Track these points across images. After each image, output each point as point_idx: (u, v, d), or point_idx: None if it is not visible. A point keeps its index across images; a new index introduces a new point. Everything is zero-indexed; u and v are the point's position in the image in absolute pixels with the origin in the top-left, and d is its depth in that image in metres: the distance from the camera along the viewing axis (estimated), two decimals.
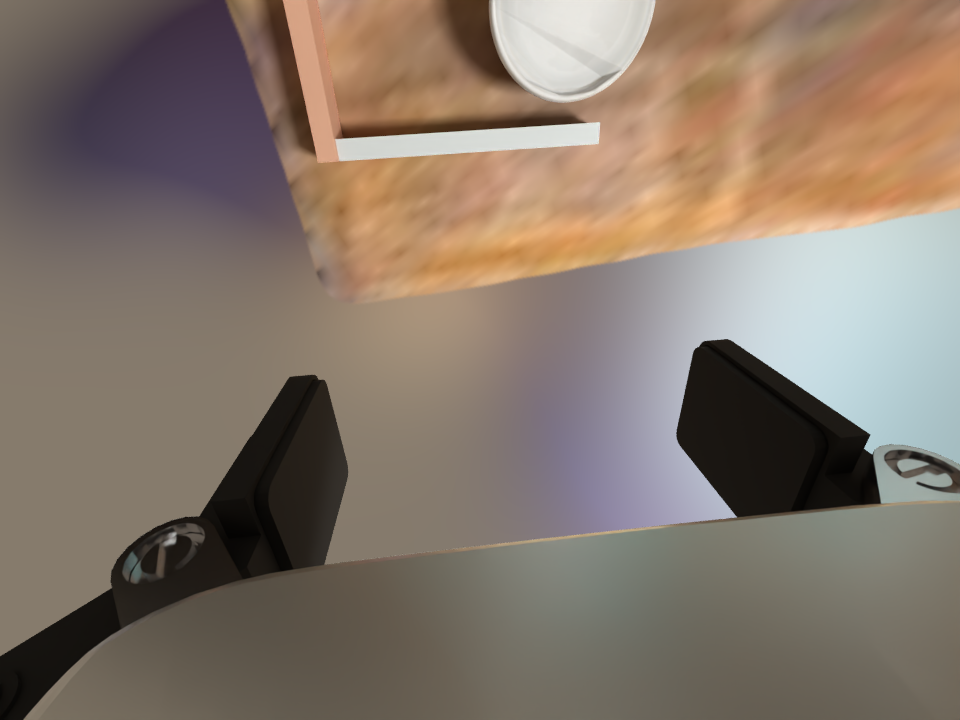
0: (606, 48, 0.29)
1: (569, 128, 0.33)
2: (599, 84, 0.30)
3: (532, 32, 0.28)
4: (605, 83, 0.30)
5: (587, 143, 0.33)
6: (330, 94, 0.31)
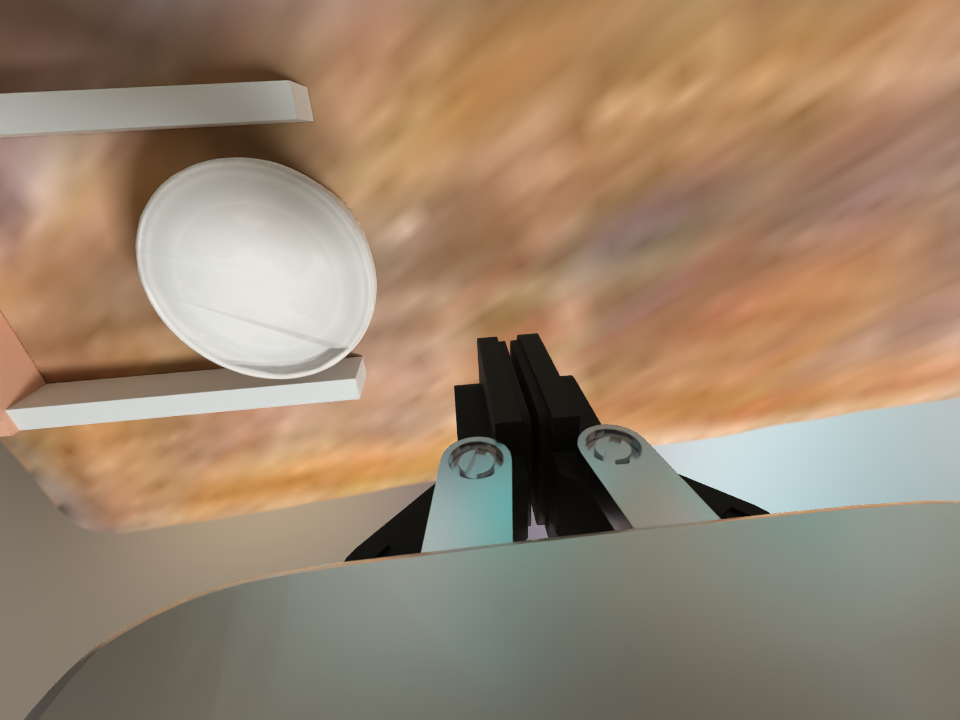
0: (321, 328, 0.22)
1: (316, 386, 0.26)
2: (326, 360, 0.23)
3: (214, 313, 0.21)
4: (331, 361, 0.23)
5: (345, 398, 0.27)
6: None
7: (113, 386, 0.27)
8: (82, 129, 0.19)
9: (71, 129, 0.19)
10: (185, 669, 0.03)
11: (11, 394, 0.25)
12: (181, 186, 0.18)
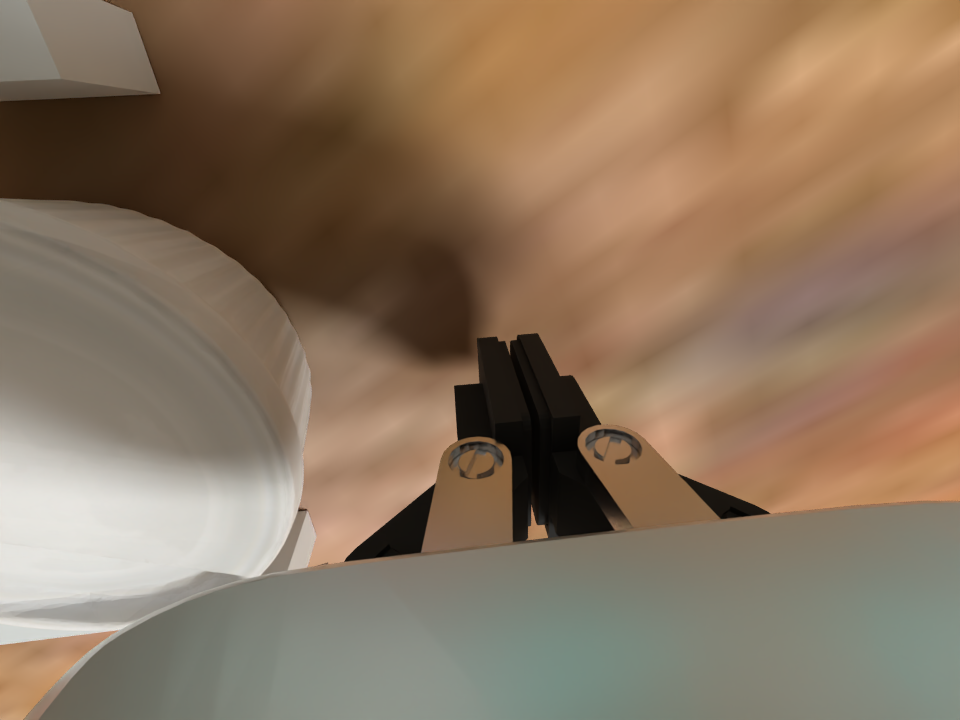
0: (179, 552, 0.10)
1: None
2: None
3: None
4: None
5: None
6: None
7: None
8: None
9: None
10: (185, 669, 0.03)
11: None
12: None
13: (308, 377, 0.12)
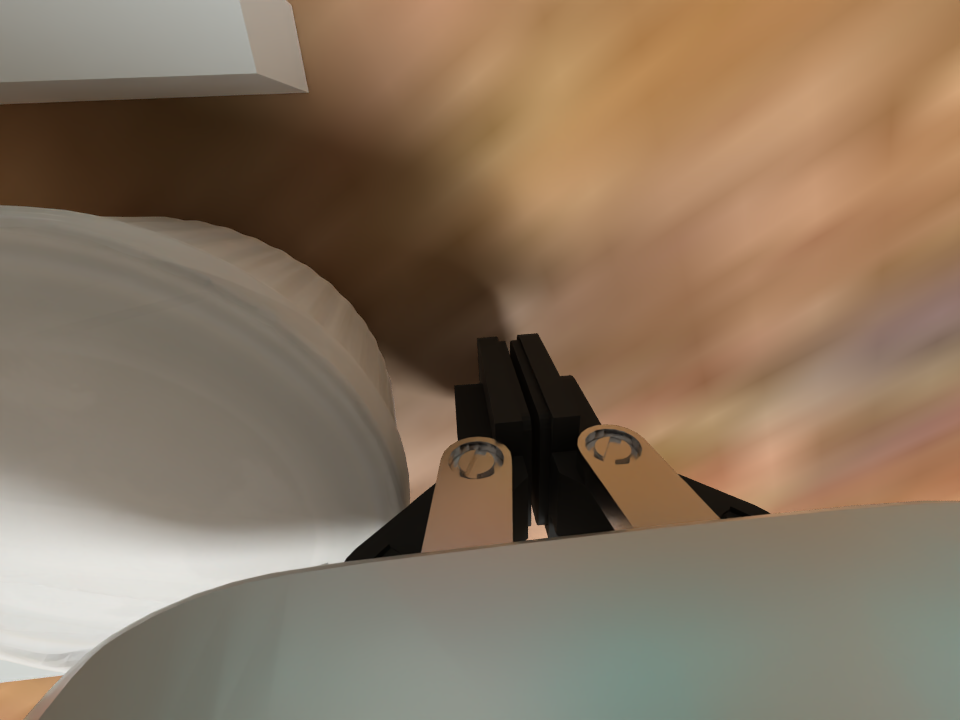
0: None
1: None
2: None
3: (2, 581, 0.08)
4: None
5: None
6: None
7: None
8: None
9: None
10: (185, 669, 0.03)
11: None
12: None
13: (394, 405, 0.12)
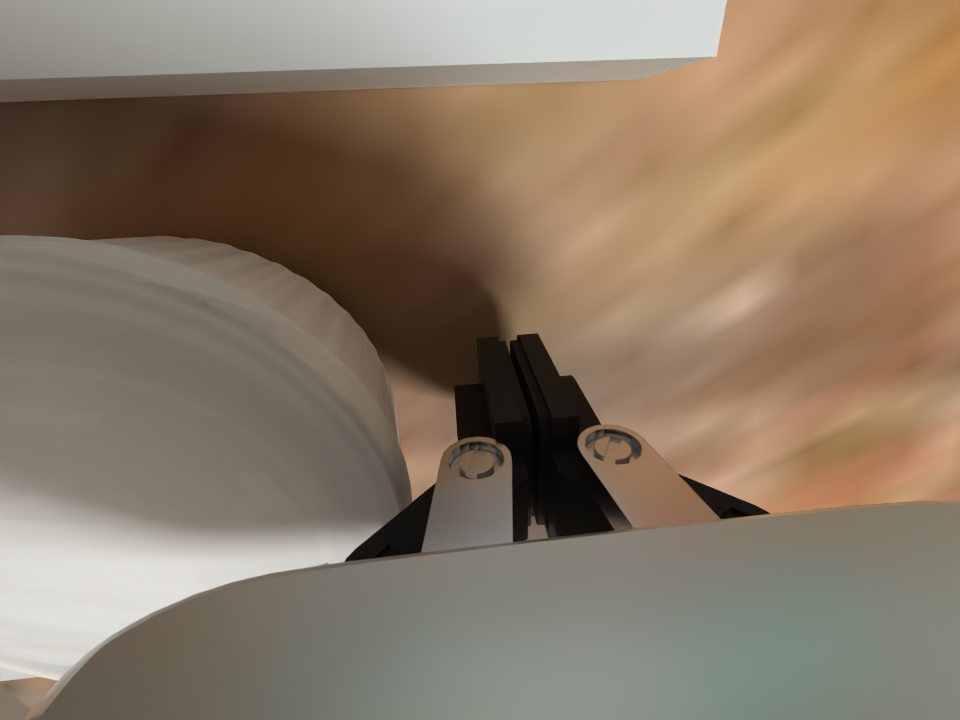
0: None
1: None
2: None
3: (19, 596, 0.09)
4: None
5: None
6: None
7: None
8: (126, 73, 0.06)
9: (95, 72, 0.06)
10: (185, 669, 0.03)
11: None
12: None
13: None
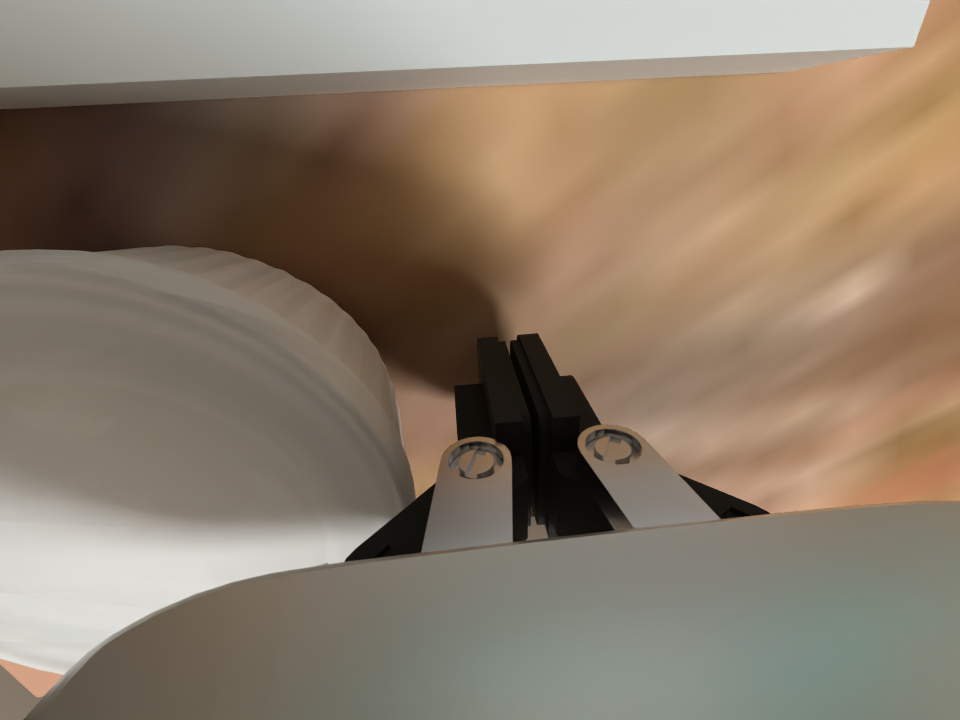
0: None
1: None
2: None
3: (40, 596, 0.09)
4: None
5: None
6: None
7: None
8: (358, 69, 0.07)
9: (331, 68, 0.07)
10: (185, 669, 0.03)
11: None
12: None
13: (399, 413, 0.12)
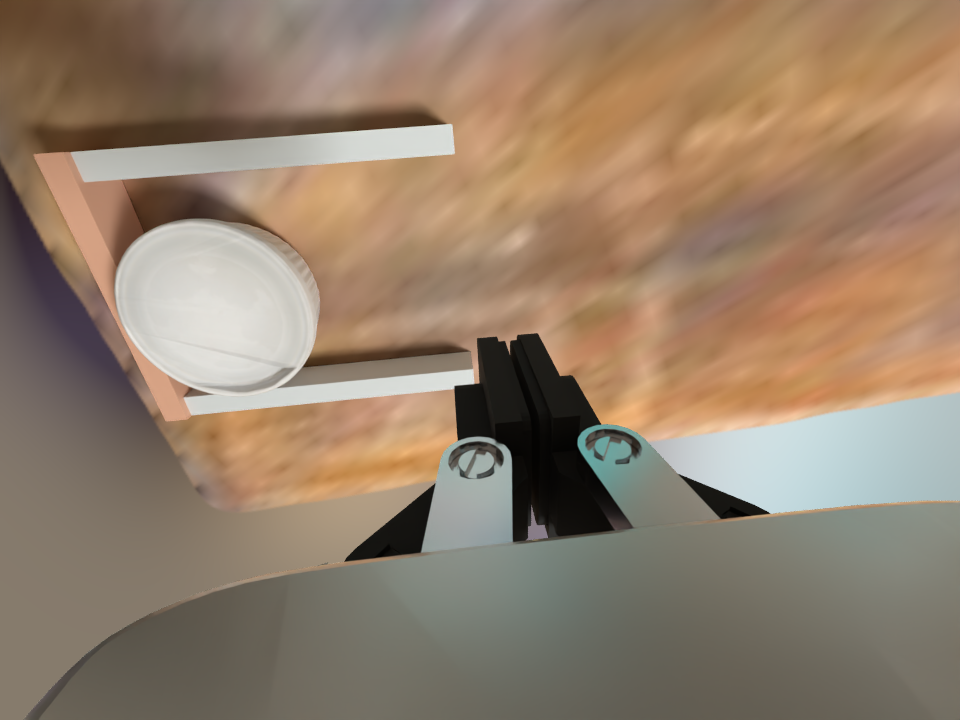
0: (271, 352, 0.26)
1: (439, 376, 0.30)
2: (279, 378, 0.27)
3: (183, 344, 0.26)
4: (283, 379, 0.27)
5: None
6: None
7: None
8: (287, 166, 0.23)
9: (279, 166, 0.23)
10: (185, 669, 0.03)
11: None
12: (145, 245, 0.23)
13: (318, 292, 0.29)
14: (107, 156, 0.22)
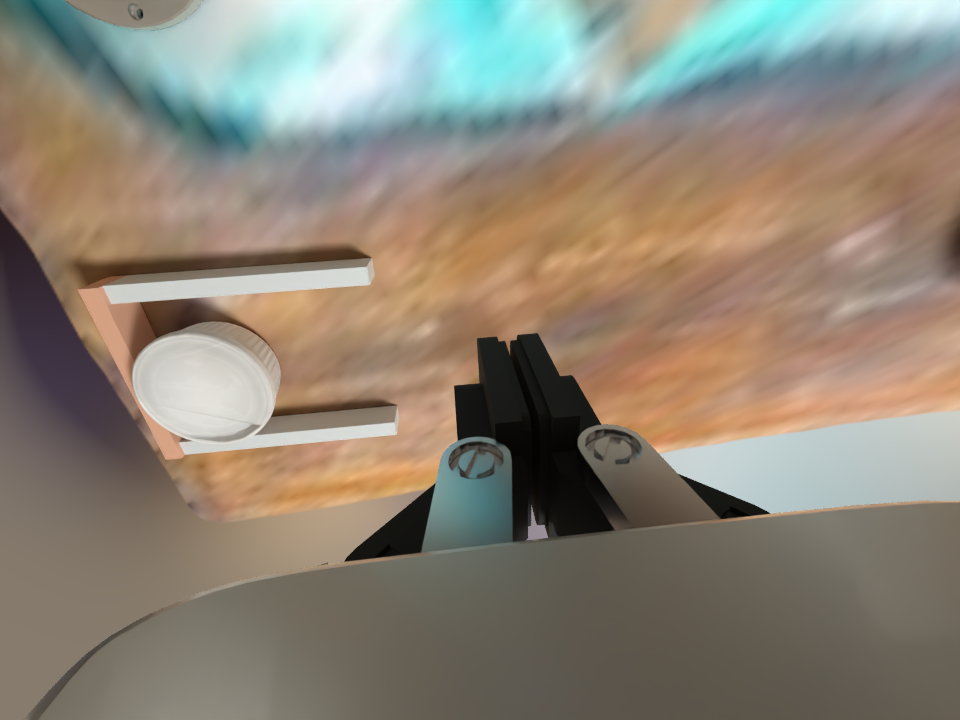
0: (242, 415, 0.37)
1: (369, 427, 0.41)
2: (249, 432, 0.38)
3: (179, 410, 0.36)
4: (252, 433, 0.38)
5: (387, 434, 0.42)
6: None
7: None
8: (252, 292, 0.34)
9: (247, 293, 0.34)
10: (185, 669, 0.03)
11: None
12: (154, 349, 0.33)
13: (278, 368, 0.39)
14: (127, 288, 0.33)
